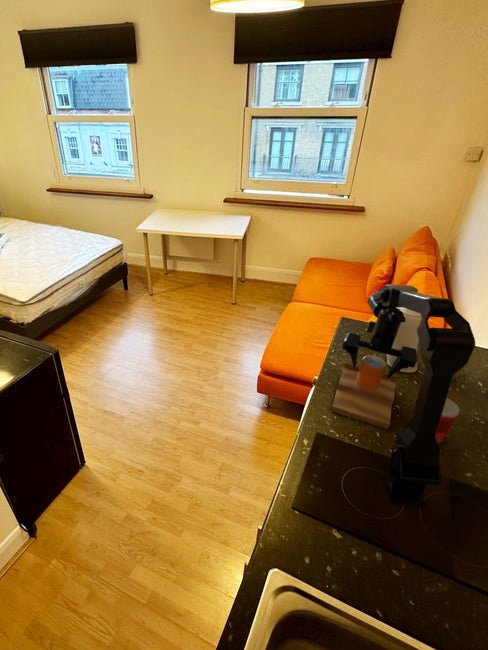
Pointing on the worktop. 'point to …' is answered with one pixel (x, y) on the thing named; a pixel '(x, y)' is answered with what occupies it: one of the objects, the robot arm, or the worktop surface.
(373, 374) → the orange tin
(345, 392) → the spice shelf
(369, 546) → the worktop surface
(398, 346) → the spray can
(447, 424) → the canned food
